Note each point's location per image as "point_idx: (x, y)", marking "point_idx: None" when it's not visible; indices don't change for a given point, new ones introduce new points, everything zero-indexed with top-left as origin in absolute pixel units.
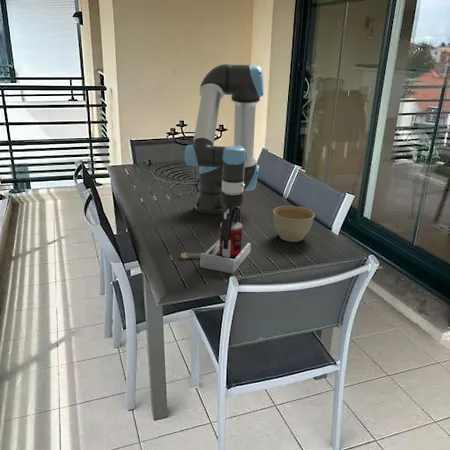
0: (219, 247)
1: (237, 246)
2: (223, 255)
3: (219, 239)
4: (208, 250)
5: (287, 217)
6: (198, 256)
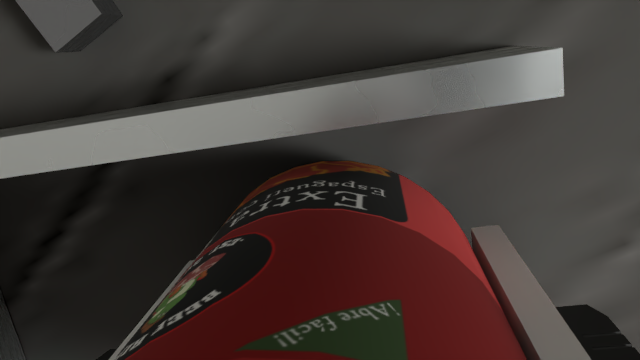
0: (256, 193)
1: None
2: None
3: (479, 71)
4: (26, 145)
5: None
6: (29, 7)
